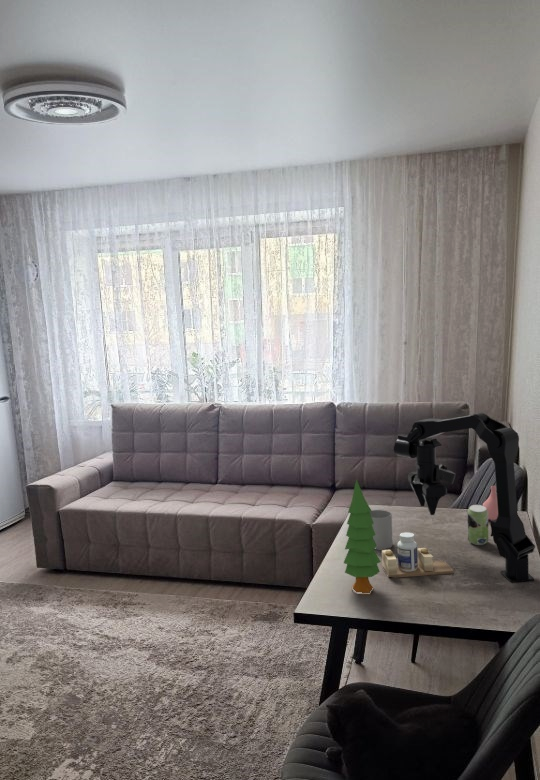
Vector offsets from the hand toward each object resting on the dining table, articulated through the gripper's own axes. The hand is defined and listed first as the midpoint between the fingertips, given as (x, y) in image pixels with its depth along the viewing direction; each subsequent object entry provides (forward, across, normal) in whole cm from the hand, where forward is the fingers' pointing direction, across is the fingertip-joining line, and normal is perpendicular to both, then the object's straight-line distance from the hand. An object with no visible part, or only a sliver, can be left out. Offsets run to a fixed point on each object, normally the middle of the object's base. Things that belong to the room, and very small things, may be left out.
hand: (427, 510), depth 174 cm
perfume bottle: (+12, +21, -30) cm, 39 cm away
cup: (+12, +6, +14) cm, 19 cm away
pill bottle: (+11, -15, +11) cm, 22 cm away
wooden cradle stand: (+12, -15, +8) cm, 21 cm away
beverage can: (+12, +1, -16) cm, 20 cm away
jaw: (+11, -15, +6) cm, 20 cm away
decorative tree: (+12, -24, +26) cm, 37 cm away
